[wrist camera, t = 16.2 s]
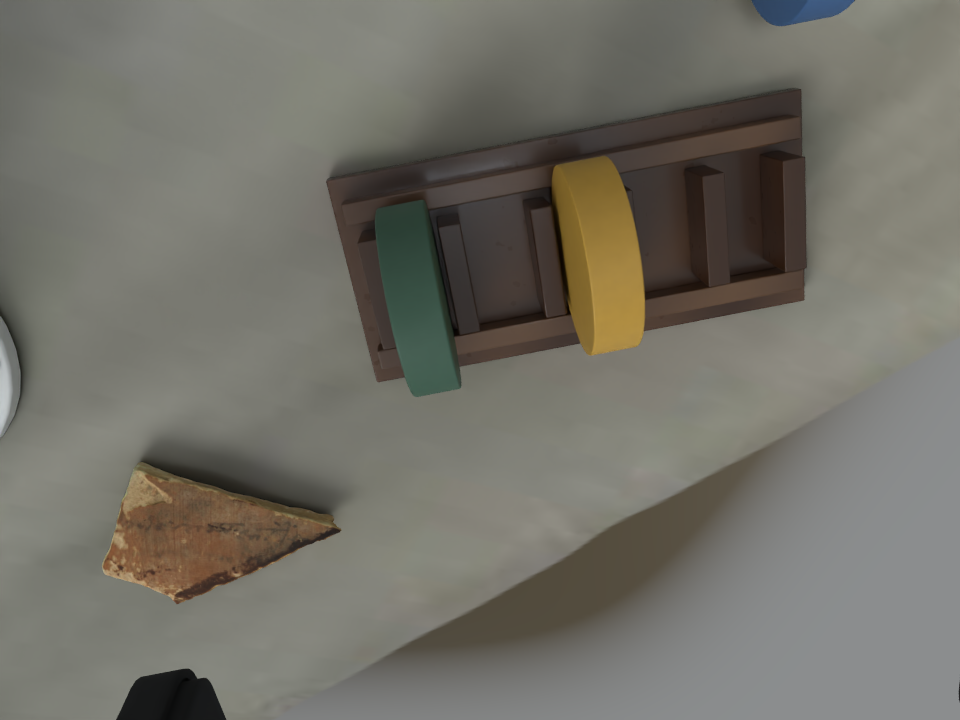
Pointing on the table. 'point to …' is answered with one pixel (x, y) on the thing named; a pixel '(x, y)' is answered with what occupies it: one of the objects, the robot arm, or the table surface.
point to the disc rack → (656, 212)
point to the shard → (201, 534)
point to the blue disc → (798, 10)
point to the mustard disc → (598, 255)
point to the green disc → (417, 298)
